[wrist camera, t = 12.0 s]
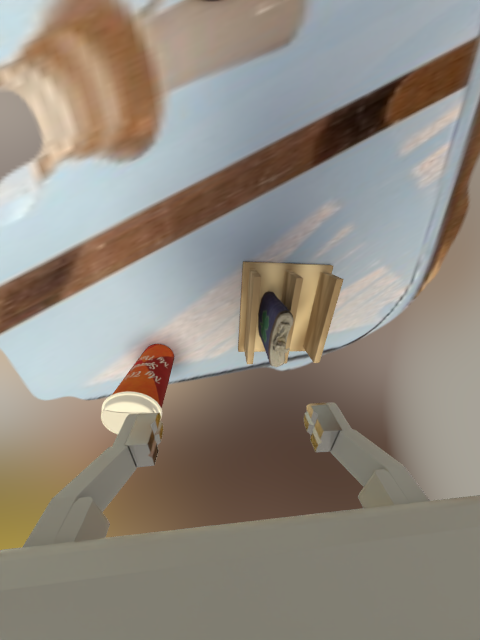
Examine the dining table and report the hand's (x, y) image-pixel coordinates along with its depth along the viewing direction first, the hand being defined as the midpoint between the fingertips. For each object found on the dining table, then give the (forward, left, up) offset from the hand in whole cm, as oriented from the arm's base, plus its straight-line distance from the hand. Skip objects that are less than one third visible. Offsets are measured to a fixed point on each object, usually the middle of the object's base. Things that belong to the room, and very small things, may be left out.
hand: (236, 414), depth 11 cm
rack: (+4, +10, -25) cm, 27 cm away
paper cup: (+14, -13, -25) cm, 31 cm away
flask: (+5, +7, -24) cm, 25 cm away
